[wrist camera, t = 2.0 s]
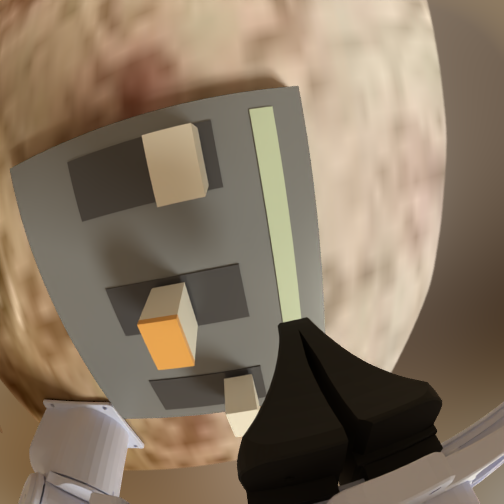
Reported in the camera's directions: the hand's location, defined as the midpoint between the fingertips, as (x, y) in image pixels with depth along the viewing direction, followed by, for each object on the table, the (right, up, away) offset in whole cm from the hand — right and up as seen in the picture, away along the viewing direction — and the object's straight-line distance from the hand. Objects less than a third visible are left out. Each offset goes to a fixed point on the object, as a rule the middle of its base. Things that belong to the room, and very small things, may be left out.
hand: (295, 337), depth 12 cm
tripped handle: (-6, +1, +4) cm, 8 cm away
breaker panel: (-7, +1, +6) cm, 9 cm away
